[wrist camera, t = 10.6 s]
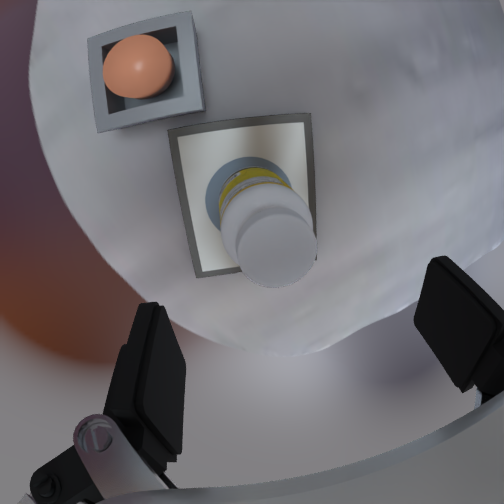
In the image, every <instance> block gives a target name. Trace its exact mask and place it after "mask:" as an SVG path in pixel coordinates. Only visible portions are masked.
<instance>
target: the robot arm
mask: <svg viewBox="0 0 504 504" xmlns="http://www.w3.org/2000/svg"><path fill="white" fill-rule="evenodd" d="M414 324H415V326H416V328H417V329H418V331H419V332H420V334H421V335H422V336H423V338H424V339H425V341H426V342H427V344H428V345H429V347H430V348H431V349H432V351H433V352H434V354H435V355H436V357H437V358H438V360H439V361H440V363H441V364H442V366H443V367H444V369H445V371H446V372H447V374H448V375H449V377H450V378H451V380H452V382H453V383H454V385H455V386H456V387H459V389H460V390H461V392H462V393H464V392H466V391H467V390H469V389H471V388H472V387H473V386H474V384H475V385H476V386H477V390H476V400H475V408H474V410H473V411H471V412H469V413H468V414H466V415H464V416H463V417H461V418H459V419H457V420H455V421H453V422H452V423H450V424H448V425H446V426H444V427H442V428H440V429H438V430H436V431H434V432H432V433H430V434H428V435H426V436H424V437H422V438H419V439H417V440H415V441H412V442H410V443H408V444H405V445H403V446H400V447H398V448H395V449H393V450H390V451H388V452H385V453H382V454H380V455H377V456H374V457H371V458H368V459H365V460H362V461H358V462H355V463H352V464H349V465H345V466H342V467H338V468H334V469H331V470H327V471H323V472H318V473H314V474H310V475H305V476H300V477H295V478H289V479H284V480H278V481H270V482H263V483H256V484H248V485H238V486H226V487H209V488H186V489H180V488H179V487H178V486H177V485H176V484H175V483H174V482H173V481H172V480H171V479H170V477H169V476H168V475H167V474H166V473H165V470H167V462H177V461H176V460H177V454H181V453H182V436H183V411H184V394H185V377H186V363H185V359H184V357H183V354H182V352H181V349H180V347H179V344H178V342H177V339H176V337H175V334H174V331H173V329H172V326H171V323H170V320H169V318H168V315H167V312H166V309H165V307H164V306H159V304H158V303H157V302H149V303H141V304H139V306H138V310H137V312H136V316H135V319H134V322H133V325H132V328H131V331H130V335H129V338H128V342H127V344H124V345H123V346H122V347H121V349H120V352H119V355H118V358H117V362H116V366H115V369H114V372H113V376H112V380H111V383H110V387H109V391H108V395H107V399H106V403H105V407H104V411H103V415H102V414H93V415H90V416H87V417H85V418H84V419H83V420H81V421H80V422H79V424H78V425H77V426H76V428H75V431H74V434H73V442H74V445H73V446H72V447H70V448H69V449H67V450H66V451H64V452H63V453H61V454H60V455H58V456H57V457H55V458H54V459H52V460H51V461H49V462H48V463H46V464H45V465H43V466H42V467H40V468H39V469H37V470H36V471H35V472H34V474H33V475H32V477H31V481H30V491H31V494H30V495H28V494H27V493H26V494H25V495H24V496H23V498H22V499H21V500H20V501H19V503H18V504H504V310H503V309H502V308H501V307H500V306H499V305H498V304H497V303H496V302H495V301H494V300H493V299H492V298H491V297H490V296H489V295H488V294H487V293H486V292H485V291H484V290H483V289H482V288H481V287H480V286H479V285H478V284H477V283H476V282H475V281H474V280H473V279H472V278H471V277H470V276H469V275H467V274H466V273H465V272H464V271H463V270H462V269H461V268H460V267H459V266H458V265H456V264H455V263H454V262H453V261H452V260H451V259H450V258H448V257H447V256H439V257H435V258H432V259H431V261H430V263H429V264H428V266H427V270H426V274H425V279H424V283H423V287H422V290H421V294H420V298H419V301H418V305H417V308H416V312H415V315H414Z"/></svg>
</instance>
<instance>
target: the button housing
mask: <svg viewBox="0 0 504 504" xmlns="http://www.w3.org/2000/svg"><path fill="white" fill-rule="evenodd" d="M134 35H149V36H152V37H154V38H156V39H158V40H159V41H160V42H161V43H162V44H163V45H164V47H165V48H166V49H167V50H168V52H169V53H170V54H171V56H172V57H173V59H174V62H175V74H174V77H173V80H172V82H171V84H170V85H169V86H168V88H167V89H166V90H165V91H164V92H162V93H161V94H159V95H158V96H156V97H153V98H150V99H143V100H141V99H134V98H128V97H123V96H119V95H117V94H115V93H113V92H112V91H111V90H110V89H109V88H108V87H107V86H106V84H105V82H104V79H103V65H104V61H105V59H106V57H107V55H108V53H109V52H110V50H111V49H112V48H113V47H114V46H115V45H116V44H117V43H118V42H120V41H121V40H123V39H125V38H127V37H130V36H134ZM87 42H88V60H89V72H90V83H91V92H92V100H93V107H94V115H95V121H96V128H97V133H101V132H106V131H111V130H116V129H122V128H125V127H129V126H133V125H137V124H141V123H145V122H150V121H154V120H159V119H163V118H168V117H173V116H178V115H184V114H189V113H195V112H201V111H206V110H205V103H204V95H203V87H202V79H201V70H200V62H199V53H198V44H197V35H196V29H195V25H194V20H193V16H192V12H191V11H186V12H180V13H175V14H170V15H165V16H160V17H156V18H152V19H148V20H144V21H140V22H136V23H133V24H129V25H126V26H123V27H119V28H116V29H113V30H110V31H107V32H104V33H101V34H99V35H96V36H93V37H91V38H88V39H87Z"/></svg>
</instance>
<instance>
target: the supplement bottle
mask: <svg viewBox="0 0 504 504" xmlns="http://www.w3.org/2000/svg"><path fill="white" fill-rule="evenodd" d="M219 213H220V229H221V238H222V242H223V245H224V248H225V250H226V252H227V254H228V255H229V256H230V258H231V259H232V260H233V261H234V262H235V263H236V264H238V265H239V266H240V268H241V270H242V272H243V273H244V274H245V276H246V277H247V278H248V279H249V280H251V281H252V282H254V283H256V284H258V285H260V286H264V287H270V288H279V287H284V286H288V285H290V284H293V283H295V282H296V281H298V280H299V279H301V278H302V277H303V276H304V275H305V274H306V273H307V272H308V271H309V270H310V268H311V267H312V265H313V263H314V261H315V258H316V254H317V241H316V237H315V234H314V232H313V221H312V216H311V213H310V210H309V208H308V206H307V205H306V203H305V202H304V200H303V199H302V198H301V197H300V196H299V195H298V194H297V193H296V192H295V191H294V190H293V189H292V188H291V187H290V186H289V185H288V184H287V183H286V182H284V181H283V180H282V179H281V178H280V177H279V176H278V175H277V174H275V173H274V172H272V171H271V170H269V169H266V168H262V167H256V166H253V167H246V168H242V169H240V170H238V171H236V172H234V173H233V174H231V175H230V176H229V177H228V178H227V179H226V181H225V182H224V184H223V186H222V188H221V190H220V194H219Z"/></svg>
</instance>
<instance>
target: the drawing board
mask: <svg viewBox="0 0 504 504" xmlns="http://www.w3.org/2000/svg"><path fill="white" fill-rule="evenodd" d="M168 137H169V143H170V149H171V155H172V161H173V167H174V173H175V178H176V184H177V189H178V194H179V200H180V205H181V210H182V215H183V220H184V224H185V229H186V234H187V239H188V243H189V248H190V252H191V257H192V261H193V266H194V270H195V274H196V278H203V277H210V276H217V275H224V274H230V273H237V272H242V270H241V268H240V266H239V265H238V264H236V263H235V262H234V261H233V260H232V259H231V258H230V256H229V255H228V254H227V252H226V250H225V248H224V245H223V242H222V238H221V229H220V213H219V194H220V190H221V188H222V186H223V184H224V182H225V181H226V179H227V178H228V177H229V176H230V175H231V174H233V173H234V172H236V171H238V170H240V169H242V168H246V167H253V166H256V167H262V168H266V169H269V170H271V171H272V172H274V173H275V174H277V175H278V176H279V177H280V178H281V179H282V180H283V181H284V182H286V183H287V184H288V185H289V186H290V187H291V188H292V189H293V190H294V191H295V192H296V193H297V194H298V195H299V196H300V197H301V198H302V199H303V200H304V202H305V203H306V205H307V206H308V208H309V210H310V213H311V216H312V221H313V232H314V234H315V237H316V195H315V171H314V152H313V137H312V123H311V113H303V114H284V115H270V116H259V117H249V118H240V119H232V120H224V121H217V122H210V123H203V124H197V125H191V126H186V127H180V128H175V129H170V130H168ZM315 260H317V254H316V258H315Z"/></svg>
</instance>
